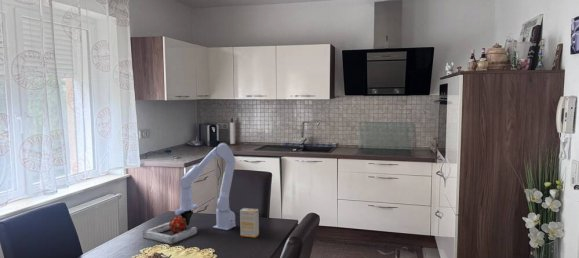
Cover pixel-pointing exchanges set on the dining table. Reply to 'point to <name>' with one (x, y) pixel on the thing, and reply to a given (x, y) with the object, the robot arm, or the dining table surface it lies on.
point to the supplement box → (249, 222)
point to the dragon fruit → (178, 224)
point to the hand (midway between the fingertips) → (186, 225)
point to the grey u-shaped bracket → (156, 235)
